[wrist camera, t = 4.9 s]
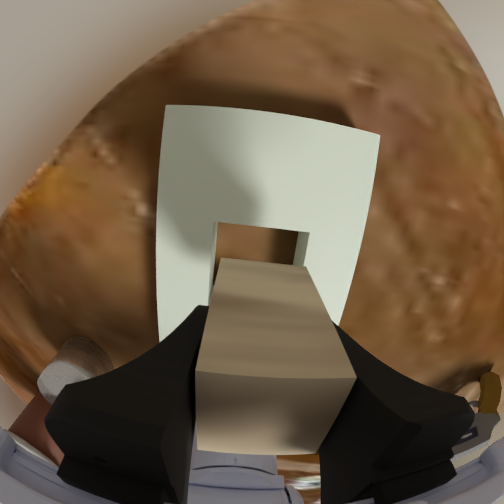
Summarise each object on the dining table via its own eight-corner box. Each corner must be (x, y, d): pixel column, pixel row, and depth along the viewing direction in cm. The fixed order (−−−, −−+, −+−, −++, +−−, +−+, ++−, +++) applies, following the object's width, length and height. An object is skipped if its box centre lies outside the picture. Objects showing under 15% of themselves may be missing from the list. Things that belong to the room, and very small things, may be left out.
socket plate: (311, 359, 23) (318, 383, 20) (170, 346, 22) (162, 370, 19) (360, 136, 17) (380, 135, 14) (178, 112, 16) (165, 104, 13)
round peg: (118, 385, 24) (99, 428, 18) (72, 372, 24) (49, 409, 18) (108, 343, 22) (81, 387, 16) (59, 330, 22) (28, 367, 16)
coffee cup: (100, 426, 27) (73, 496, 16) (61, 423, 28) (33, 481, 17) (58, 377, 24) (14, 450, 13) (22, 379, 25) (-16, 437, 14)
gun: (344, 398, 37) (325, 487, 24) (498, 363, 25) (516, 452, 12) (348, 408, 38) (330, 492, 25) (495, 375, 26) (509, 461, 13)
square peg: (290, 334, 14) (315, 453, 7) (215, 328, 14) (197, 449, 7) (306, 266, 13) (356, 377, 6) (221, 257, 12) (195, 370, 6)
